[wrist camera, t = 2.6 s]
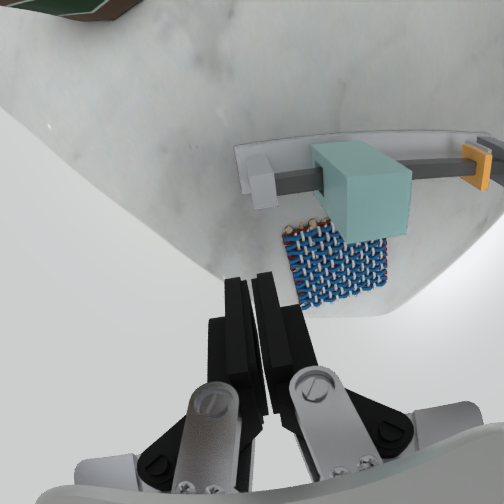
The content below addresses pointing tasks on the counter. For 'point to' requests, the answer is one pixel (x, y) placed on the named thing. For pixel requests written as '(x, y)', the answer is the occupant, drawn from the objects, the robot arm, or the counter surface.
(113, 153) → the counter surface
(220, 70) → the counter surface
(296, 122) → the counter surface
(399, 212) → the teal sliding block
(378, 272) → the woven mat
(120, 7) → the beer bottle
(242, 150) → the teal block rod stand
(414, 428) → the robot arm
